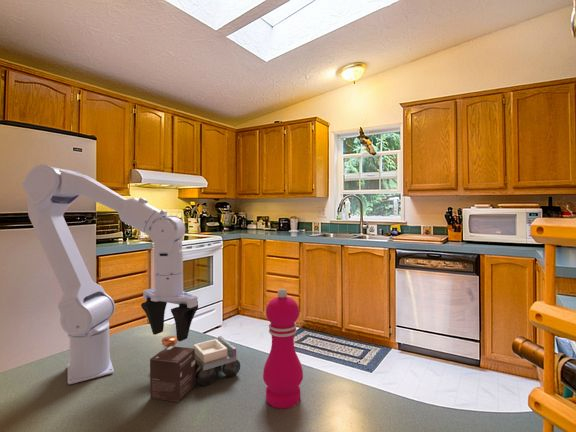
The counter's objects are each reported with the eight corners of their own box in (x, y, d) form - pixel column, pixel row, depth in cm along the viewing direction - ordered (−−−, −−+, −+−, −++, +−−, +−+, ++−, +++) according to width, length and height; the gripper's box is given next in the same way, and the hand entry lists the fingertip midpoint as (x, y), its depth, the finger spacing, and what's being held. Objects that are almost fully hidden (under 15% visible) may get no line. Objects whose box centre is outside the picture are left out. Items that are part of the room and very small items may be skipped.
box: (178, 403, 56) (178, 362, 56) (149, 398, 58) (148, 358, 58) (196, 385, 62) (195, 348, 62) (169, 381, 64) (168, 345, 64)
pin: (160, 369, 68) (160, 338, 68) (175, 365, 70) (175, 334, 70) (164, 375, 66) (163, 343, 66) (179, 371, 68) (179, 339, 68)
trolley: (185, 371, 67) (185, 344, 67) (225, 360, 73) (224, 334, 73) (198, 388, 61) (198, 358, 61) (240, 374, 66) (240, 347, 66)
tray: (193, 351, 67) (193, 344, 67) (216, 346, 70) (216, 338, 70) (203, 362, 63) (203, 354, 63) (227, 356, 65) (227, 348, 65)
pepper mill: (297, 385, 62) (297, 283, 62) (307, 407, 55) (307, 292, 55) (260, 389, 60) (259, 285, 60) (266, 413, 53) (265, 294, 53)
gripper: (130, 273, 68) (131, 336, 68) (178, 279, 61) (179, 350, 61) (157, 267, 74) (159, 325, 74) (204, 273, 67) (205, 337, 67)
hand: (170, 336), depth 68 cm, fingers open, 7 cm apart
